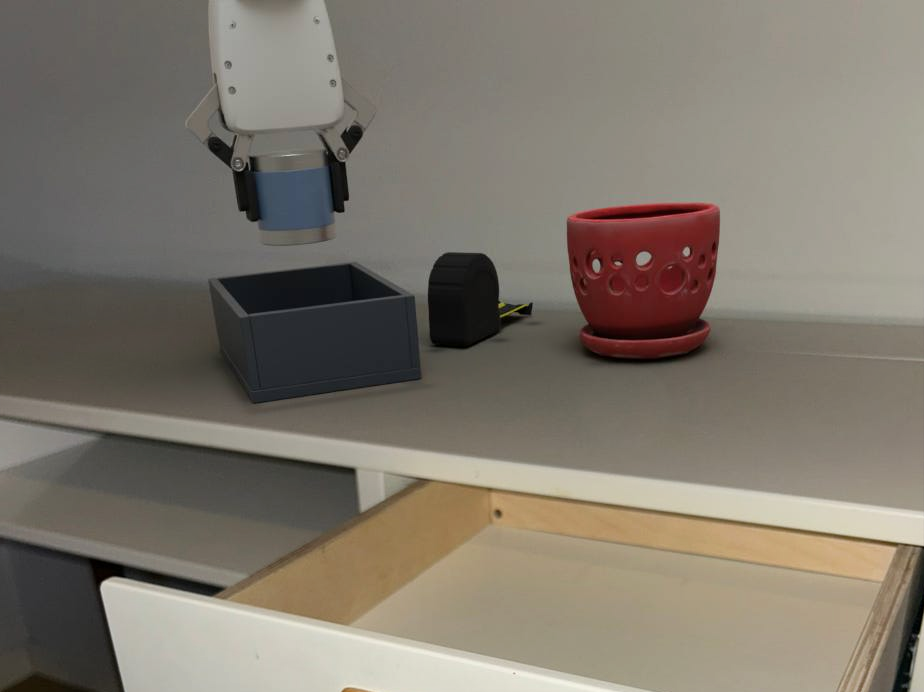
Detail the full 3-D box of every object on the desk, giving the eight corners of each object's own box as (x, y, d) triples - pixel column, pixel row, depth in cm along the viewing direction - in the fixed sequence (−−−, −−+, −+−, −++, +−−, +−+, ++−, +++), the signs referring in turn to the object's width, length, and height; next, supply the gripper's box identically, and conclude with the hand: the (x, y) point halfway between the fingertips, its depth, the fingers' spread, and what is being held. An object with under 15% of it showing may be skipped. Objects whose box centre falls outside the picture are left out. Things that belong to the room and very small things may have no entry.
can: (267, 248, 90) (254, 157, 87) (254, 239, 96) (241, 153, 92) (344, 240, 92) (334, 150, 88) (327, 231, 97) (317, 147, 94)
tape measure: (466, 349, 101) (460, 261, 97) (426, 346, 102) (419, 259, 99) (533, 316, 112) (530, 235, 108) (496, 314, 114) (492, 235, 110)
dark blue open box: (253, 403, 88) (239, 317, 85) (220, 351, 106) (207, 278, 102) (421, 378, 92) (414, 295, 89) (363, 332, 109) (355, 261, 106)
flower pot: (730, 335, 100) (738, 197, 94) (690, 371, 89) (695, 218, 84) (599, 329, 105) (598, 198, 99) (546, 362, 95) (542, 218, 89)
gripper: (359, -26, 90) (381, 202, 98) (147, -17, 85) (189, 221, 94) (382, -35, 83) (403, 209, 92) (155, -25, 79) (199, 231, 87)
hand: (295, 213), depth 93 cm, fingers closed on can, 6 cm apart
